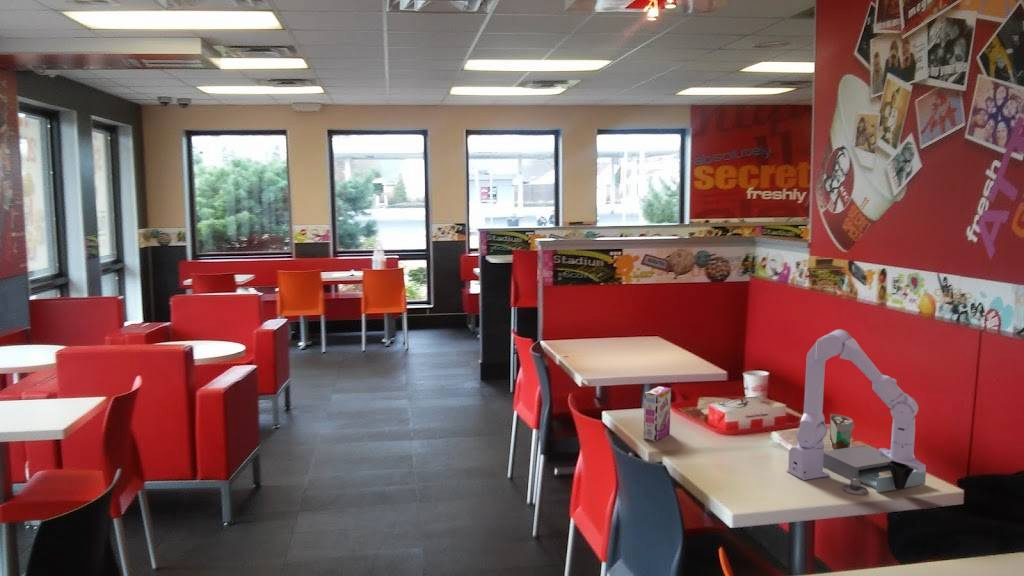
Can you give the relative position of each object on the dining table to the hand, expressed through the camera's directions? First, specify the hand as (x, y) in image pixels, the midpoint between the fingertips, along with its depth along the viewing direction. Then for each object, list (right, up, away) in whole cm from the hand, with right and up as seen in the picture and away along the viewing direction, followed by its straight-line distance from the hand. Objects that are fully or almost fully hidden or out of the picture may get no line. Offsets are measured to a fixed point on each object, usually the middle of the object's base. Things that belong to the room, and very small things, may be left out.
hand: (899, 488), depth 222 cm
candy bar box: (-59, +5, +50) cm, 77 cm away
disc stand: (-11, -1, +2) cm, 12 cm away
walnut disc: (0, +1, +7) cm, 7 cm away
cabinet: (-3, +1, +18) cm, 18 cm away
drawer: (0, 0, +9) cm, 9 cm away
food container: (-1, +3, +36) cm, 36 cm away
